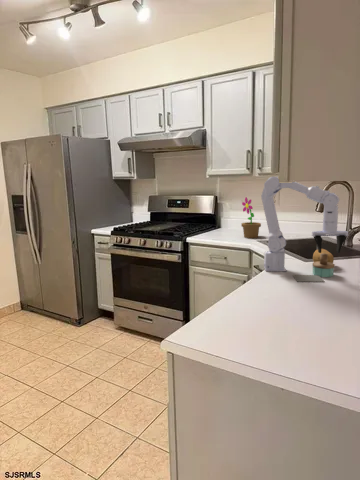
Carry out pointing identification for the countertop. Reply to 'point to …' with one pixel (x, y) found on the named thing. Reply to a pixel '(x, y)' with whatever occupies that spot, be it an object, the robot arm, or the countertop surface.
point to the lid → (323, 262)
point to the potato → (317, 256)
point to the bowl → (323, 272)
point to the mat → (308, 278)
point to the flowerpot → (250, 227)
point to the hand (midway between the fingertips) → (328, 252)
